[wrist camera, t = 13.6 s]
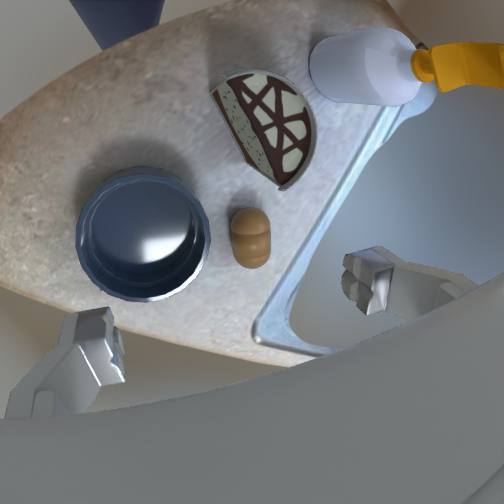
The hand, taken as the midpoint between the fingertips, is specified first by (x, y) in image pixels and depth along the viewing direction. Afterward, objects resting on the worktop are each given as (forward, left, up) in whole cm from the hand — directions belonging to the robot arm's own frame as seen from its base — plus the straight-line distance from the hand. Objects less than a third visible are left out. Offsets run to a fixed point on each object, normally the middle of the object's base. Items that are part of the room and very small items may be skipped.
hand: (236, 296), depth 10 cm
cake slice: (-4, +10, -27) cm, 29 cm away
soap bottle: (-10, +22, -27) cm, 36 cm away
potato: (+10, +9, -27) cm, 30 cm away
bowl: (+7, -4, -27) cm, 28 cm away
